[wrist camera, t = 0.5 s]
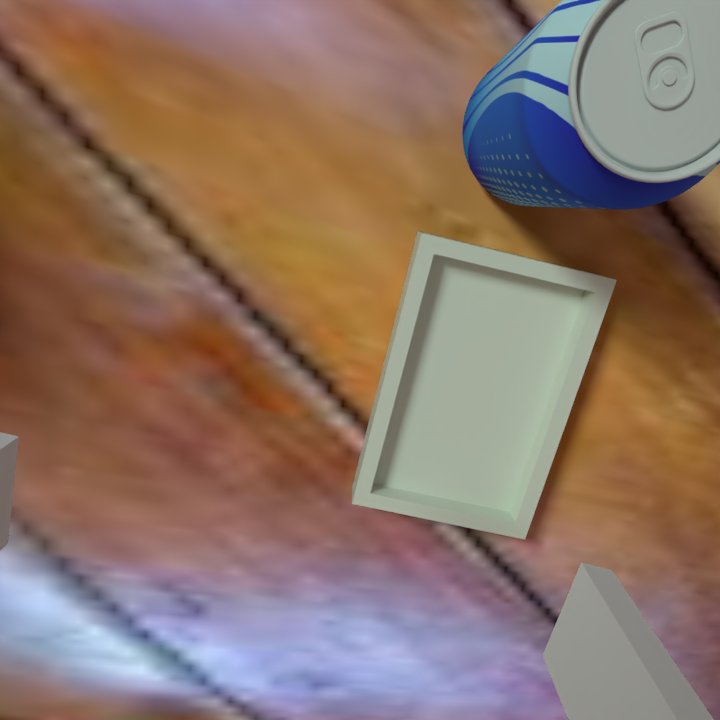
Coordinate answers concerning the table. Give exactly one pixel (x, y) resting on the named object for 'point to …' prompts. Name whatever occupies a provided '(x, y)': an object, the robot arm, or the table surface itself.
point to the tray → (477, 385)
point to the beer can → (601, 106)
